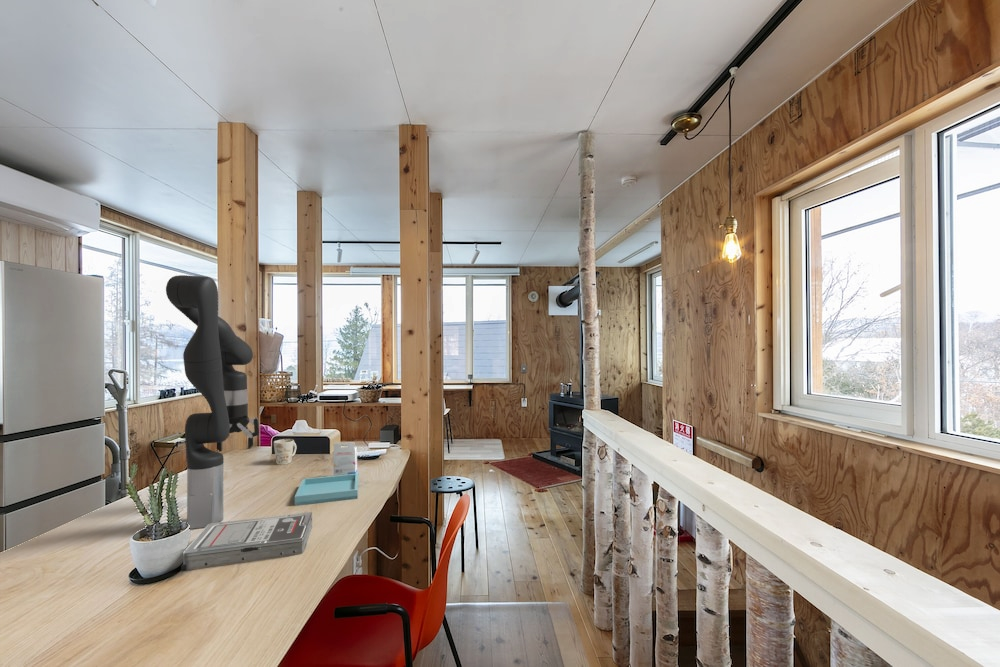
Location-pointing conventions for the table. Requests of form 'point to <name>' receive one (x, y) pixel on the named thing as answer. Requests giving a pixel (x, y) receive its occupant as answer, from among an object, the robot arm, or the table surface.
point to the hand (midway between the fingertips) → (235, 449)
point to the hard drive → (248, 540)
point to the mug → (284, 451)
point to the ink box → (345, 459)
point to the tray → (327, 489)
